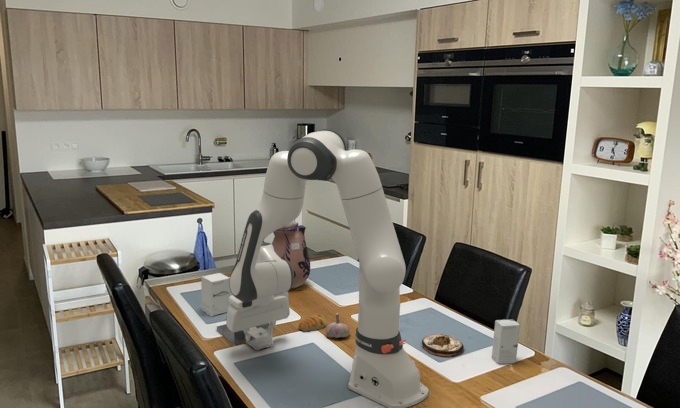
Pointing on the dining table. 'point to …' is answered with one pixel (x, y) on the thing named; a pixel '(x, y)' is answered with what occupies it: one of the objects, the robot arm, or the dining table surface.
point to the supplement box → (215, 294)
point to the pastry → (313, 323)
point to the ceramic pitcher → (293, 250)
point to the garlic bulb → (337, 329)
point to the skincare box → (505, 341)
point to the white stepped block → (260, 338)
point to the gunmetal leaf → (235, 333)
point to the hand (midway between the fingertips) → (259, 337)
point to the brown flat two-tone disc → (442, 345)
